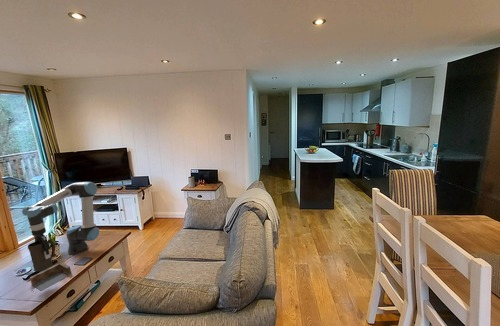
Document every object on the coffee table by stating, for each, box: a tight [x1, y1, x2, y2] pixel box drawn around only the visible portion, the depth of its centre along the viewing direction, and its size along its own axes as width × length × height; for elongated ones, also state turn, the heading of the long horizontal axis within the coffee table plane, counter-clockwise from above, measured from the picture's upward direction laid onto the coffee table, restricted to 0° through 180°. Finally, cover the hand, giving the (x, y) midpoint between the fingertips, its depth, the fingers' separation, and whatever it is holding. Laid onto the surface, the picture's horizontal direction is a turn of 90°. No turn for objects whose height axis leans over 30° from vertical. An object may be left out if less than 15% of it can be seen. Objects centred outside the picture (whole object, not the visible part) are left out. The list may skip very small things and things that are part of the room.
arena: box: [29, 261, 72, 286], centre depth 178 cm, size 20×14×6 cm
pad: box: [33, 271, 69, 292], centre depth 177 cm, size 17×12×1 cm
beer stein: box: [27, 238, 57, 272], centre depth 172 cm, size 15×11×20 cm
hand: (45, 256), depth 172 cm, fingers closed on beer stein, 9 cm apart
